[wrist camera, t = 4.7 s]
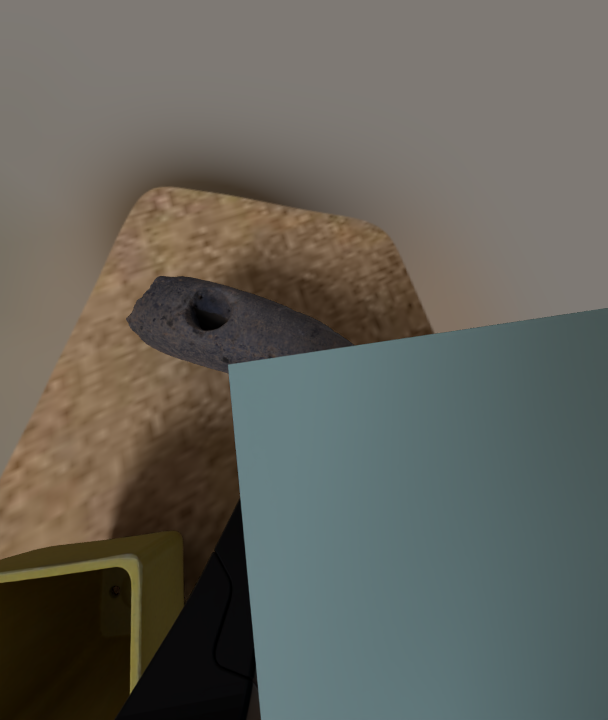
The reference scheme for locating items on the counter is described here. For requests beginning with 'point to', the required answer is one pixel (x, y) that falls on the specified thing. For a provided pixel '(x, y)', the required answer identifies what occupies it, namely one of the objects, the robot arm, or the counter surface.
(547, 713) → the pillar
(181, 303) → the perforated stone tool
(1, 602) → the flower pot
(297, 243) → the counter surface
